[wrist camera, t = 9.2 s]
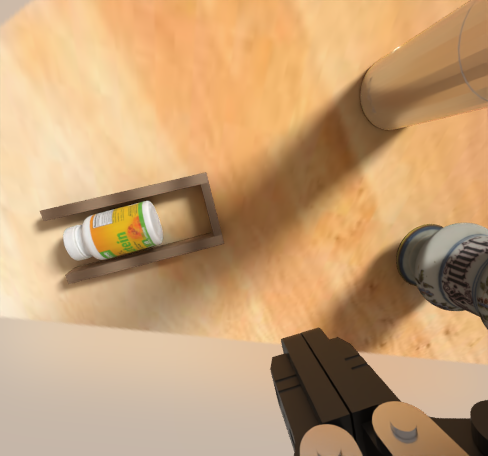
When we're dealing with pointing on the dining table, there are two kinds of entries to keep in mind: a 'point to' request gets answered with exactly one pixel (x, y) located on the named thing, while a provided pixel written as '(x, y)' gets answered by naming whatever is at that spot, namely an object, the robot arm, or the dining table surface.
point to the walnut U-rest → (148, 254)
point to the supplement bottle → (115, 232)
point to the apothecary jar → (448, 266)
